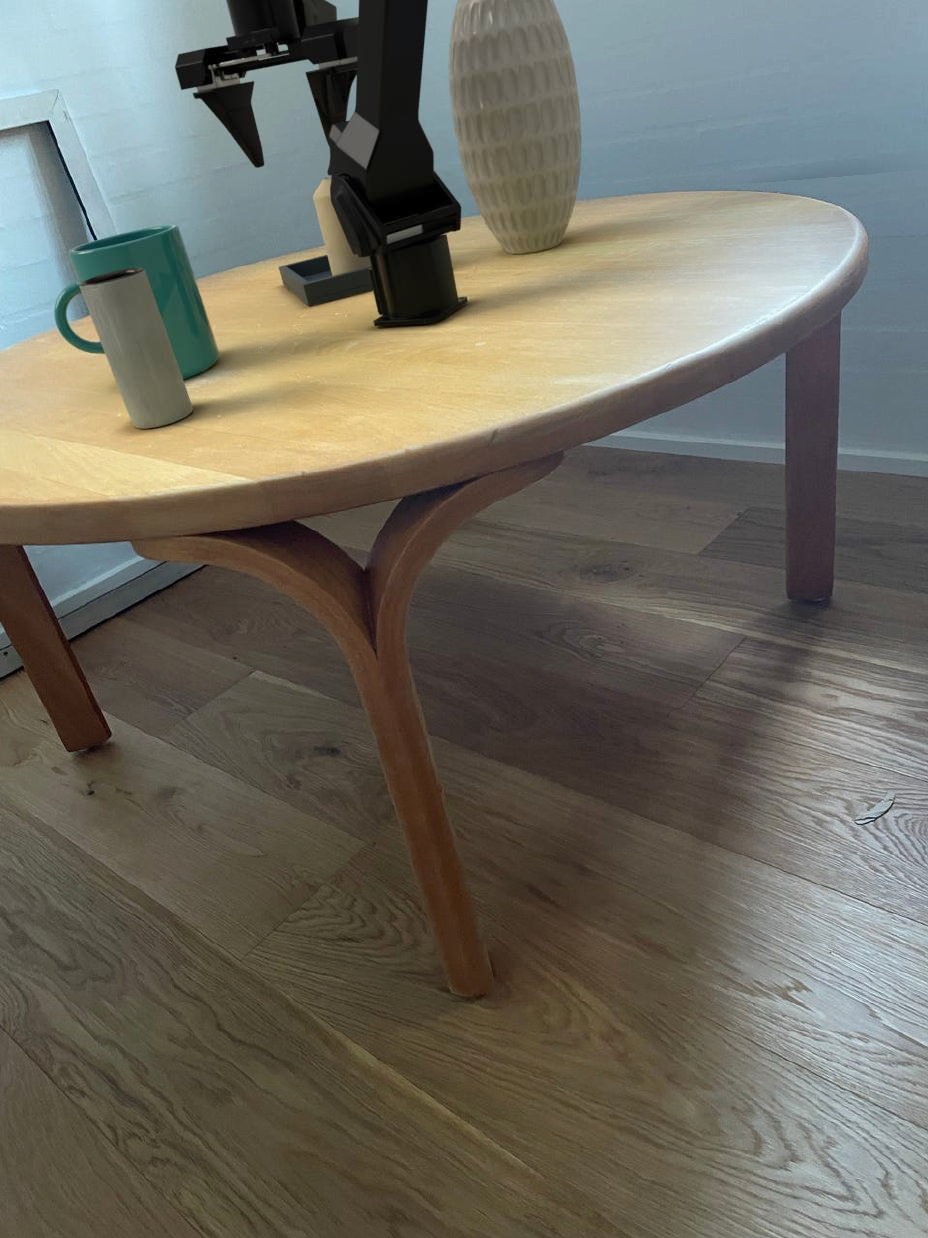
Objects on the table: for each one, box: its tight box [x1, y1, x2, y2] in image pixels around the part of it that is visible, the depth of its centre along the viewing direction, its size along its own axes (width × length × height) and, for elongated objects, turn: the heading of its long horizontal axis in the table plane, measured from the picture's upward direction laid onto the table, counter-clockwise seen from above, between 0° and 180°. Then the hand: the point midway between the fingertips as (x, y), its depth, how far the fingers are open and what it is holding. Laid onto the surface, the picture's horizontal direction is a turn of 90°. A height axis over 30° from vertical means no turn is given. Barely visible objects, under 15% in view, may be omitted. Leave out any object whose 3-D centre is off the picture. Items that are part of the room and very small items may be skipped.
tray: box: [278, 254, 373, 308], centre depth 101 cm, size 16×15×2 cm
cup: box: [53, 224, 220, 380], centre depth 77 cm, size 9×12×11 cm
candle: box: [312, 177, 371, 276], centre depth 99 cm, size 6×6×10 cm
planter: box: [79, 267, 194, 430], centre depth 66 cm, size 4×4×10 cm
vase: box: [447, 0, 582, 255], centre depth 92 cm, size 13×13×28 cm
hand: (298, 161), depth 85 cm, fingers open, 9 cm apart
